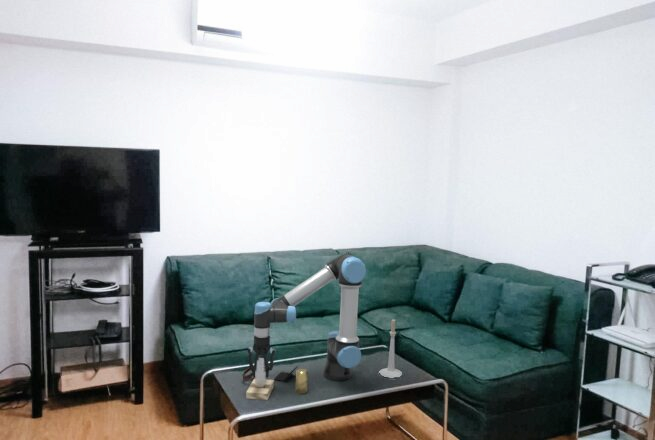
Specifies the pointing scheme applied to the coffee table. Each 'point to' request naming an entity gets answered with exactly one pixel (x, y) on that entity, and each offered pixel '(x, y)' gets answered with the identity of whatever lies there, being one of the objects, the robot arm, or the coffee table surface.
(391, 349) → the candlestick
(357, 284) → the robot arm
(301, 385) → the round brass bit
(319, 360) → the coffee table surface
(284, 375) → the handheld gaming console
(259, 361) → the square steel bit
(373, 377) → the coffee table surface
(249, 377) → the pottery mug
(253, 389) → the socket plate
